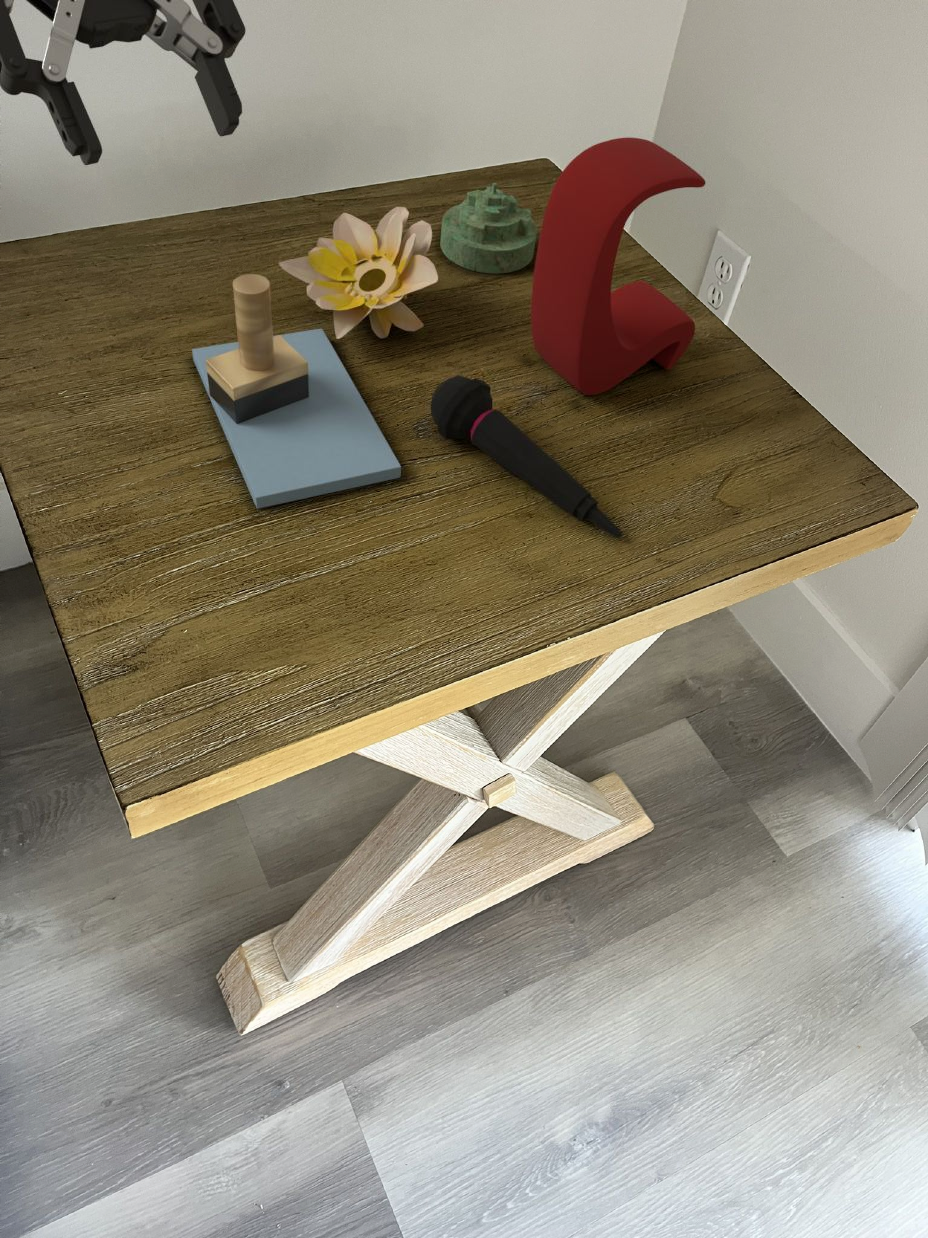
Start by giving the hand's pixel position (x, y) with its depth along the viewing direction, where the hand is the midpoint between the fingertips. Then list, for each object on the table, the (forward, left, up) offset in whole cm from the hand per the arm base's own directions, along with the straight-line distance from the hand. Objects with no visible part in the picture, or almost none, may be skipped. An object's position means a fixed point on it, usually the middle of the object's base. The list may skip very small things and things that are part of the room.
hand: (164, 144), depth 57 cm
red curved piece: (+39, +5, -27) cm, 47 cm away
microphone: (+24, -7, -27) cm, 36 cm away
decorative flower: (+20, +20, -27) cm, 39 cm away
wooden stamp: (+6, +8, -25) cm, 27 cm away
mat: (+9, +6, -27) cm, 29 cm away
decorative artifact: (+37, +27, -27) cm, 53 cm away
